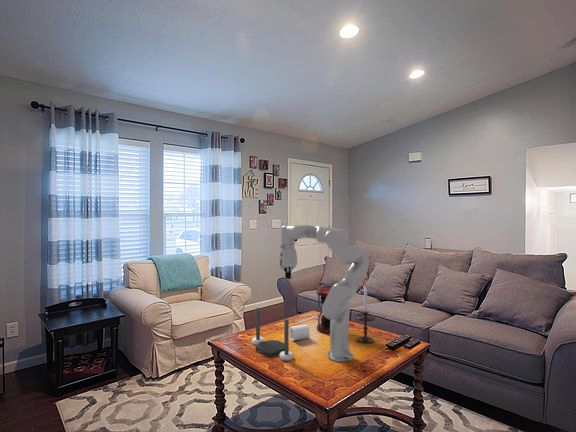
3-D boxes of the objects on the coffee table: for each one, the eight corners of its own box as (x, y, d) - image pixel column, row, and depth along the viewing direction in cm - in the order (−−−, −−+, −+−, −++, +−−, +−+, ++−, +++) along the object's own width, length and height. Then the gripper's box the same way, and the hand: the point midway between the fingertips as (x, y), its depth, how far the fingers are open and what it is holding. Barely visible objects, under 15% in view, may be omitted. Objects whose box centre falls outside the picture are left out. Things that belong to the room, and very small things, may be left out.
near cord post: (295, 358, 177) (295, 320, 176) (285, 362, 172) (285, 323, 172) (287, 353, 182) (287, 316, 182) (277, 357, 178) (276, 319, 177)
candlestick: (354, 343, 195) (354, 282, 194) (357, 336, 205) (357, 278, 204) (374, 345, 192) (374, 283, 190) (375, 338, 202) (375, 279, 201)
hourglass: (312, 326, 222) (312, 288, 221) (335, 324, 227) (335, 286, 226) (322, 335, 207) (322, 295, 206) (346, 332, 211) (346, 292, 210)
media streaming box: (290, 350, 187) (290, 345, 187) (269, 358, 177) (269, 353, 177) (272, 342, 198) (272, 337, 198) (252, 350, 188) (252, 344, 188)
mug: (309, 340, 200) (309, 326, 200) (294, 343, 196) (294, 329, 196) (301, 333, 211) (301, 320, 211) (286, 335, 207) (286, 322, 207)
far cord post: (266, 342, 197) (266, 308, 196) (256, 345, 192) (256, 310, 192) (259, 339, 202) (259, 305, 202) (249, 342, 198) (249, 308, 197)
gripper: (281, 248, 188) (282, 281, 189) (302, 246, 198) (302, 277, 198) (273, 247, 194) (273, 279, 195) (293, 245, 204) (293, 275, 204)
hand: (288, 278), depth 196 cm, fingers closed
